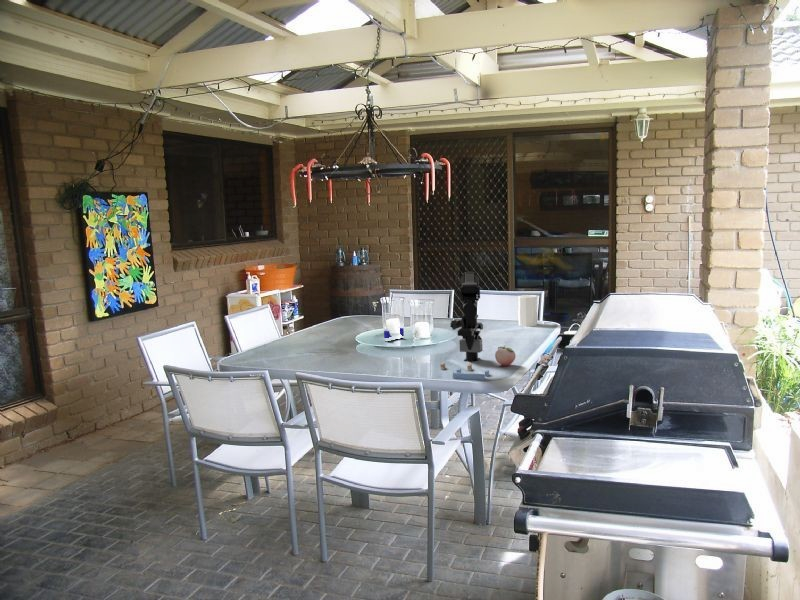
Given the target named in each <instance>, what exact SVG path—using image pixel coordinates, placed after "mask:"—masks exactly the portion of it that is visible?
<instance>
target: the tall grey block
mask: <svg viewBox="0 0 800 600" xmlns="http://www.w3.org/2000/svg"><path fill="white" fill-rule="evenodd" d="M459 352H461V353H466V352H478V354H479V353H481V352H483V339H474V342H473V345H472V348H471V350H468V347H467V344H466V341H465V339H463V338H461V339H459Z"/></svg>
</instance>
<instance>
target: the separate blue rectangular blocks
mask: <svg viewBox="0 0 800 600" xmlns="http://www.w3.org/2000/svg"><path fill="white" fill-rule="evenodd" d="M489 375H490V369H486V370H485V371H484V373H472V372H471V373H469V372H462V368H461V367H459V368H457V369H456V371H455V372H452V379H459V380H460V379H461V380H481V381H484V379H486V377H489Z"/></svg>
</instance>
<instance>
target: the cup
mask: <svg viewBox="0 0 800 600" xmlns="http://www.w3.org/2000/svg"><path fill="white" fill-rule="evenodd" d="M517 299H518V300H517V301H518V306H517V307H518V326H520V327H524V328H525V327H526V328H528V327H536V326H538V296H537V295H536V294H535V295H534V294H524V295H523V294H522V295H518V297H517Z"/></svg>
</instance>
